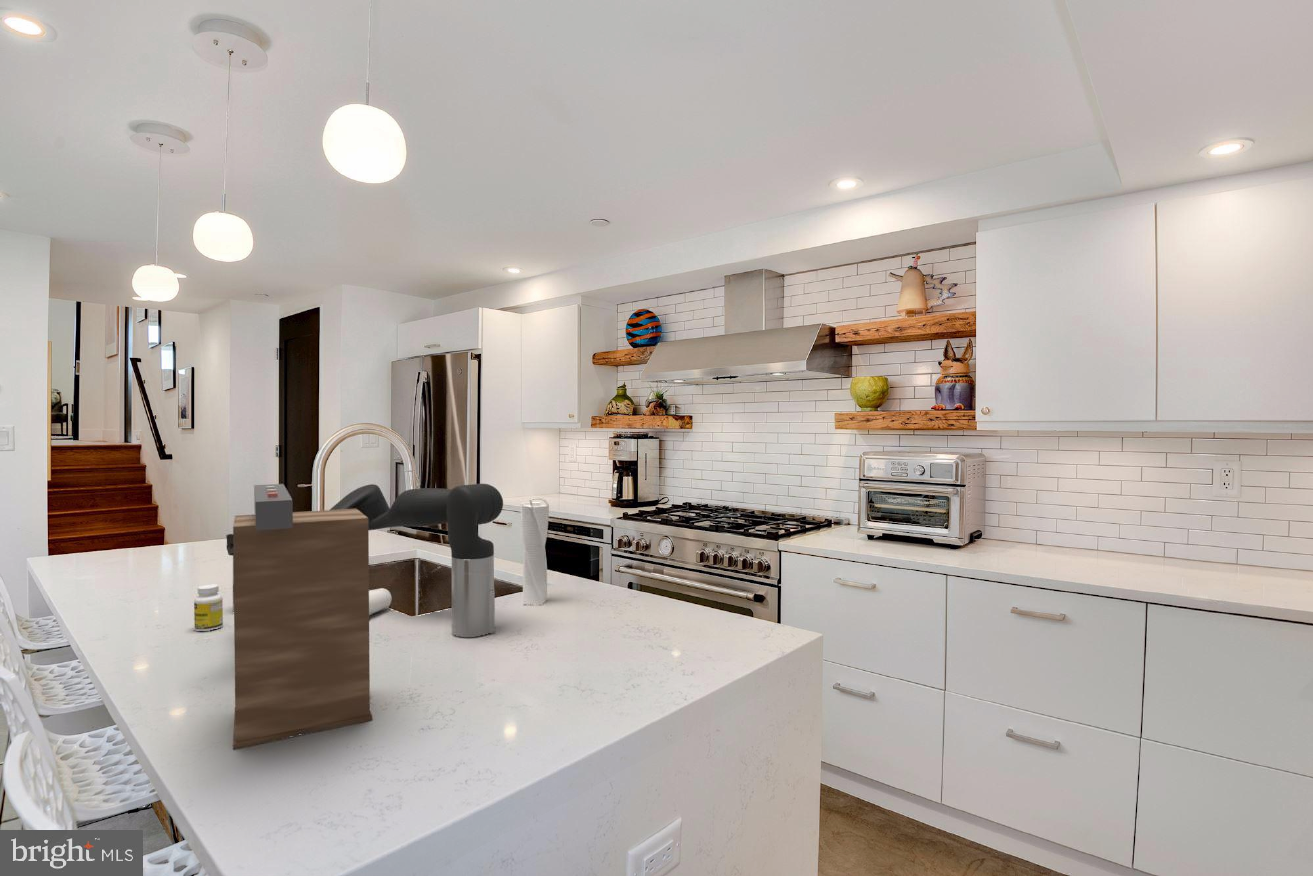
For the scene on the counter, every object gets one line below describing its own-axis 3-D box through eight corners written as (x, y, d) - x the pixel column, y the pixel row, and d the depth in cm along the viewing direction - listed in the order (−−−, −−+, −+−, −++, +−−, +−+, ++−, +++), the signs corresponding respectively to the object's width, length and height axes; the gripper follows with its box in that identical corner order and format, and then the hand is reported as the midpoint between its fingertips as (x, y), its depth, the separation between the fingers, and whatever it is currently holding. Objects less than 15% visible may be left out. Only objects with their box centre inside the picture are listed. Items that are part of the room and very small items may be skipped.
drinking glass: (384, 617, 170) (343, 631, 155) (367, 599, 172) (324, 611, 157) (399, 597, 169) (359, 609, 155) (382, 579, 171) (340, 589, 156)
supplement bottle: (188, 630, 152) (188, 587, 152) (212, 624, 157) (212, 582, 157) (204, 633, 150) (204, 590, 150) (228, 626, 155) (227, 584, 155)
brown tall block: (234, 712, 109) (232, 515, 108) (359, 689, 119) (357, 508, 118) (233, 749, 96) (230, 527, 96) (372, 720, 106) (370, 518, 106)
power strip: (254, 507, 119) (254, 482, 119) (283, 506, 121) (283, 481, 121) (255, 530, 93) (255, 498, 93) (292, 528, 95) (292, 496, 95)
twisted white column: (546, 607, 172) (546, 498, 172) (517, 606, 172) (517, 497, 172) (551, 599, 180) (551, 494, 180) (523, 598, 180) (523, 494, 180)
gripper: (309, 567, 138) (316, 546, 126) (227, 576, 131) (226, 554, 118) (307, 532, 141) (314, 508, 128) (226, 539, 133) (225, 513, 121)
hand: (272, 530), depth 123 cm, fingers open, 8 cm apart
